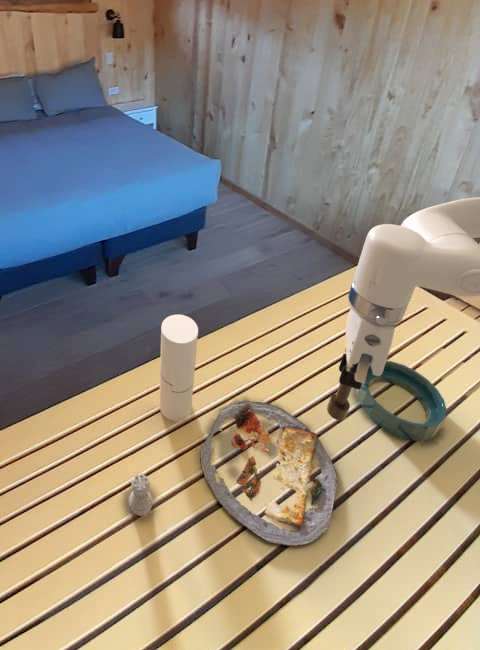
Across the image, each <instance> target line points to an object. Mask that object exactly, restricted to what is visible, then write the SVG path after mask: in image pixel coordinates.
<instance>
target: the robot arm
mask: <svg viewBox="0 0 480 650" xmlns="http://www.w3.org/2000/svg"><path fill="white" fill-rule="evenodd" d="M476 238H477V239H478V238H480V197H479V196H478V197H468V198H461V199H456V200H452V201H448V202H444V203H439V204H436V205H433V206H429V207H426V208H423V209H421V210H418V211H416V212H414V213H412V214H410V215H408V216H407V217H406V218H405V219H404V220H403V221H402V222H401V225H399V224H392V223H383V224H378V225H375V226H374V227H372V228H371V229H370V230H369V231H368V232H367V235H366V238H365V241H364V243H363V247H362V250H361V254H360V256H359V260H358V263H357V266H356V270H355V273H354V275H353V279H352V283H351V286H350V289H349V292H348V295H347V303H348V306H349V307H350V309H349V311H348V315H347V317H346V323H345V349H344V353H342V357H341V360H340V362H339V365H338V371H339V372H340V376H339V379H338V382H339V384H340V383H341V384H343V385H346V386H349V387H352V388H353V389H355V390H356V389H360V388H361V385H362V383H363V384H365V380H366V376H367V371H368V368H369V365H370V364H371V368H372V372H373V375H376V376H380V375H381V374H382V372H383V369H384V366H385V363H386V361H388V357H389V354H390V350H391V348H392V344H393V340H394V336H395V335H394V334H395V328H396V325H398V324H400V323H401V322H402V321H403V319H404V316H405V314H406V311H407V309H408V306H409V303H410V301H411V299H412V297H413V294H414V292H415V289H416V287H420V288H424V289H428V290H432V291H436V292H440V293H443V294H447V295H451V296H458V297H467V298H469V297H479V296H480V244H479V243H478V242H477V241H476V240H475V239H476ZM353 364H354V365H355V364H358V366H357V367H356V366H354V365H353ZM352 388H351V389H352Z"/></svg>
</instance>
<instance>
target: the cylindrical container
mask: <svg viewBox="0 0 480 650" xmlns="http://www.w3.org/2000/svg"><path fill="white" fill-rule="evenodd" d="M160 325H161V327H160V358H159V359H160V361H159V391H158V393H159V395H158V396H159V397H158V408H159V411H160V413H161V415H163V417H164V418H165V419H167V420H169V421H172V422H176V423H177V422H182V421H184V420H186V419H187V418H189V417H190V415H191V413H192V407H193V396H194V385H195V384H194V382H195V372H196V360H197V349H198V337H199V327H198V324H197V323H196V322H195V320H193V319H192V318H191V317H190V316H187V315H184V314H171V315H169V316H167V317H165V319H163V320H162V323H161V324H160Z"/></svg>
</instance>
